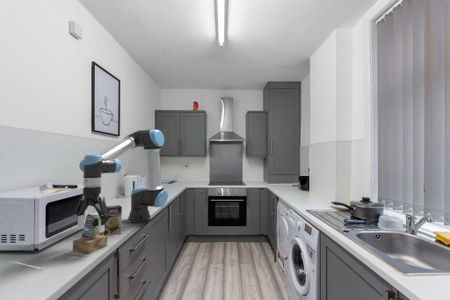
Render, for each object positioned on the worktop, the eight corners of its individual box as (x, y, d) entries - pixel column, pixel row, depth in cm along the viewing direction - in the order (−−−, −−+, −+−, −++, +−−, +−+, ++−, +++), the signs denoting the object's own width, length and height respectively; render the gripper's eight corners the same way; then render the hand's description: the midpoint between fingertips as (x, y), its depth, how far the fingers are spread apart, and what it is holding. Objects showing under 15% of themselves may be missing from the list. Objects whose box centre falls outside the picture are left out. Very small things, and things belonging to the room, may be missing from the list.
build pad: (92, 242, 114) (92, 241, 114) (113, 246, 109) (113, 245, 109) (65, 253, 100) (65, 252, 100) (87, 258, 96) (87, 256, 96)
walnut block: (92, 243, 111) (92, 233, 111) (106, 246, 108) (107, 235, 108) (72, 251, 102) (73, 240, 102) (88, 254, 98) (88, 243, 99)
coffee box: (103, 237, 121) (104, 208, 122) (101, 234, 126) (102, 206, 126) (121, 234, 127) (122, 206, 127) (118, 231, 132) (119, 204, 132)
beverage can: (80, 238, 104) (81, 213, 105) (97, 234, 110) (98, 210, 110) (83, 241, 100) (84, 215, 101) (101, 238, 105) (102, 213, 106)
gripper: (66, 186, 107) (65, 229, 106) (105, 188, 98) (103, 235, 97) (81, 184, 114) (79, 225, 113) (118, 186, 106) (117, 230, 105)
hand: (90, 230), depth 105 cm, fingers open, 13 cm apart
